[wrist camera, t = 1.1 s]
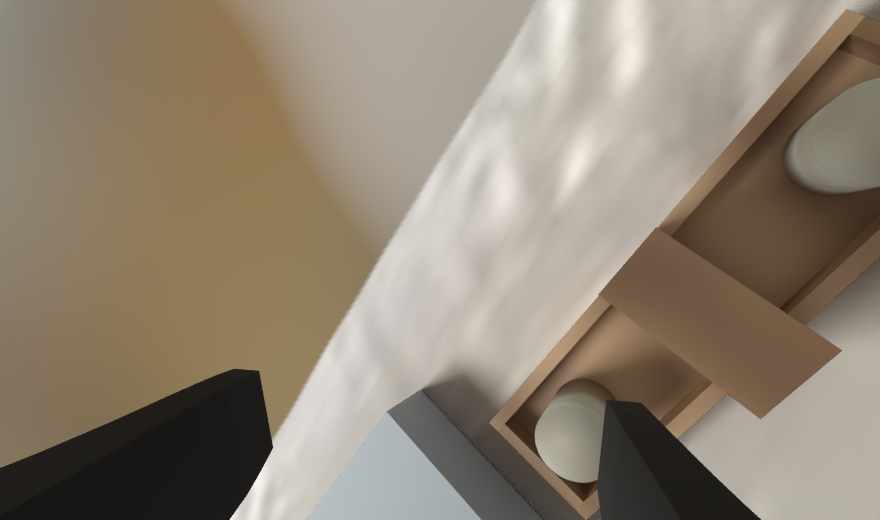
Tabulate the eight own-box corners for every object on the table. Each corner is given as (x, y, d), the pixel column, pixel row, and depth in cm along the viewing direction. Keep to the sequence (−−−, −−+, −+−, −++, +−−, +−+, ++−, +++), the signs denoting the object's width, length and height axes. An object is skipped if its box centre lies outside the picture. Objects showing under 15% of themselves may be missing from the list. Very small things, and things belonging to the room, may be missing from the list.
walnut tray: (821, 39, 13) (903, -60, 9) (1001, 114, 12) (1213, 38, 7) (504, 405, 19) (458, 456, 15) (593, 491, 17) (571, 577, 13)
